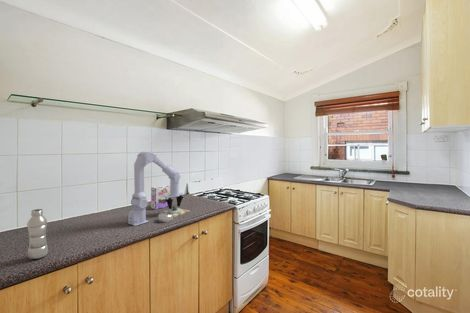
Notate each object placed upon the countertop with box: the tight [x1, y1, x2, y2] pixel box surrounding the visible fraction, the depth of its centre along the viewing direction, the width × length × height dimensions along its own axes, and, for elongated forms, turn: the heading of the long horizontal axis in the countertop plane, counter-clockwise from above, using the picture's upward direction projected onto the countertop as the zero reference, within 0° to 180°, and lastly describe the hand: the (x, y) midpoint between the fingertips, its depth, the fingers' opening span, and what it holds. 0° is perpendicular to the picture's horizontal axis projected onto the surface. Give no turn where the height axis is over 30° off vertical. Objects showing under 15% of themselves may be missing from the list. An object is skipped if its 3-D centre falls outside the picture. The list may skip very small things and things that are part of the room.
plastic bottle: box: [26, 208, 49, 260], centre depth 94 cm, size 6×7×20 cm
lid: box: [167, 205, 182, 214], centre depth 159 cm, size 10×10×4 cm
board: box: [158, 207, 191, 218], centre depth 159 cm, size 16×14×1 cm
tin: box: [158, 212, 174, 224], centre depth 143 cm, size 9×9×4 cm
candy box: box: [150, 184, 170, 211], centre depth 173 cm, size 14×6×16 cm, turn 143°
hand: (174, 207), depth 159 cm, fingers open, 7 cm apart
